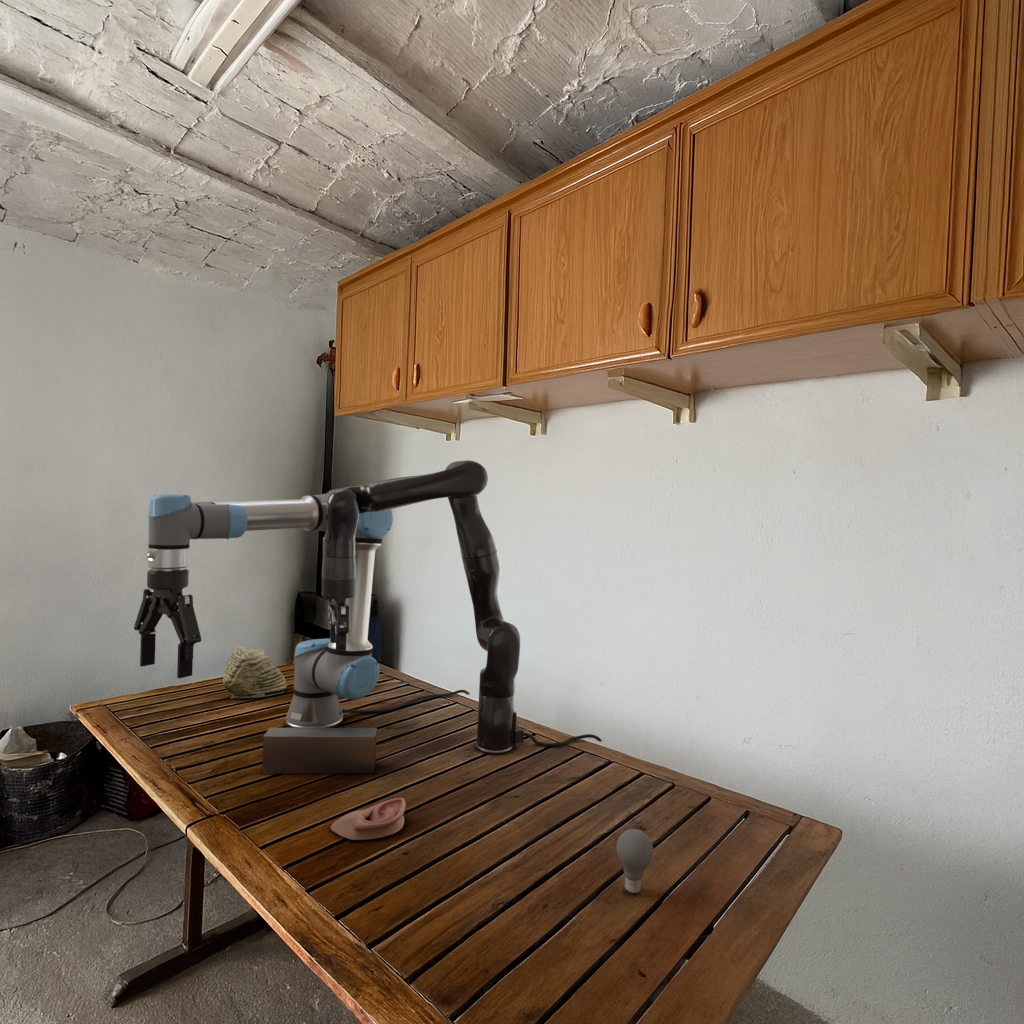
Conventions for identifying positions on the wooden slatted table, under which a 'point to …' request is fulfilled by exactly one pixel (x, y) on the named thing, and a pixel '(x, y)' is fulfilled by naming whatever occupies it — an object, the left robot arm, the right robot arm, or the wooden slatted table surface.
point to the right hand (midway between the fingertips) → (337, 646)
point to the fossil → (252, 674)
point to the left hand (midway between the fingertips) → (165, 670)
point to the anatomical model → (372, 821)
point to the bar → (319, 750)
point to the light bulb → (634, 857)
